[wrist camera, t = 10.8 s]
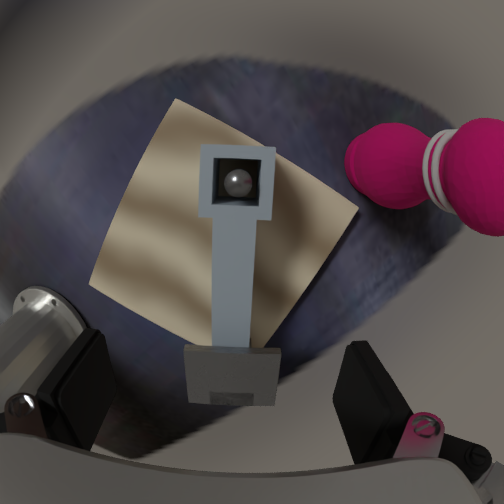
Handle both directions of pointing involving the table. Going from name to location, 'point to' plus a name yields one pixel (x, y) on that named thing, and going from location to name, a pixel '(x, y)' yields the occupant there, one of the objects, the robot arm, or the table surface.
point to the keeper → (232, 375)
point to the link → (234, 238)
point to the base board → (200, 233)
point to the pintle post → (238, 182)
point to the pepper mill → (434, 170)
